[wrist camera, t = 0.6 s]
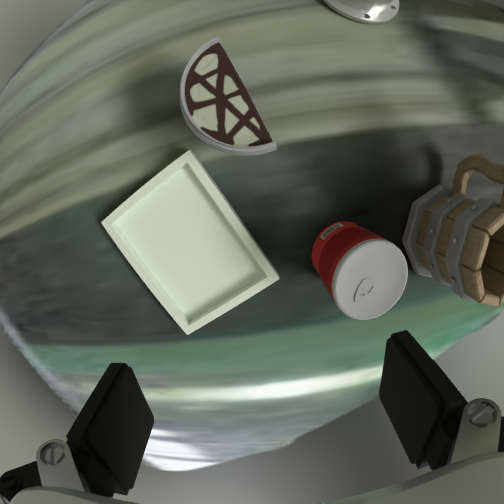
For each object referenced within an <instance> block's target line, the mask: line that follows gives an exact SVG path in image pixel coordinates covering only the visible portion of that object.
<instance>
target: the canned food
mask: <svg viewBox="0 0 504 504" xmlns="http://www.w3.org/2000/svg"><path fill="white" fill-rule="evenodd" d="M312 263H313V266H314V269H315V270H316V272H317V274H318V275H319V277H320V279H321V280H322V282H323V284H324V285H325V287H326V288H327V290H328V292H329V293H330V295H331V297H332V298H333V300H334V302H335V303H336V304H337V306H338V307H339V308H340V309H341V310H342V311H343V312H344V313H345V314H346V315H348V316H349V317H352V318H354V319H360V320H366V319H372V318H375V317H378V316H380V315H382V314H384V313H385V312H387V311H388V310H389V309H390V308H392V307H393V306H394V305H395V303H396V302H397V301H398V300H399V298H400V297H401V295H402V293H403V291H404V288H405V286H406V282H407V277H408V268H407V262H406V259H405V257H404V255H403V253H402V252H401V250H400V249H399V248H397V247H396V246H395V245H394V244H393V243H391V242H389V241H388V240H386V239H384V238H382V237H381V236H379V235H377V234H375V233H373V232H371V231H369V230H367V229H365V228H363V227H361V226H360V225H358V224H356V223H354V222H350V221H340V222H336V223H333V224H331V225H329V226H327V227H326V228H324V229H323V230H322V231H321V232H320V234H319V235H318V236H317V238H316V240H315V242H314V245H313V248H312Z"/></svg>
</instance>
